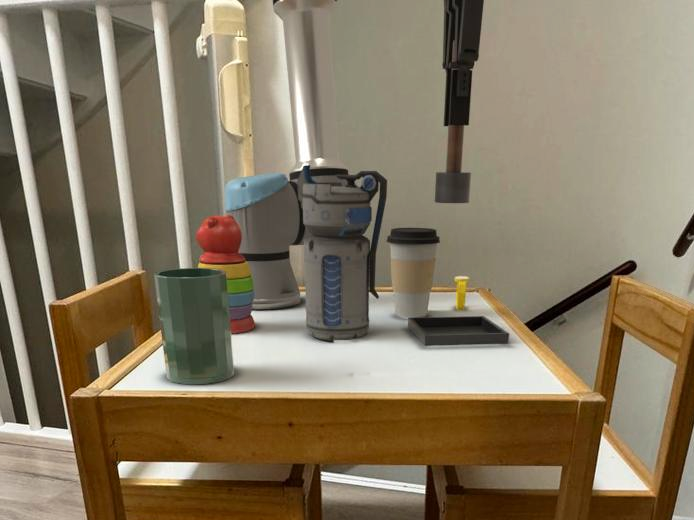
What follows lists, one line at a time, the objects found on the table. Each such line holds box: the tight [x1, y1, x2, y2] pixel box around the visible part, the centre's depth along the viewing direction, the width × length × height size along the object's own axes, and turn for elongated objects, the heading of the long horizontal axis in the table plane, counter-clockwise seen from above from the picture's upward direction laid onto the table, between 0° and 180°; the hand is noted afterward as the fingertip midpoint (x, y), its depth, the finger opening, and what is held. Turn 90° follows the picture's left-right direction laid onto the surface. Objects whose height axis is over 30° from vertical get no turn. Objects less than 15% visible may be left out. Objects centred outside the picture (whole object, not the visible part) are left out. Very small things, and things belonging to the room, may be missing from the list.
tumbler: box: [153, 267, 235, 385], centre depth 85 cm, size 9×9×13 cm
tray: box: [407, 315, 510, 347], centre depth 107 cm, size 13×13×2 cm
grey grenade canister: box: [298, 165, 388, 342], centre depth 103 cm, size 10×13×25 cm
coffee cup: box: [386, 227, 441, 318], centre depth 119 cm, size 9×9×15 cm
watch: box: [454, 275, 470, 311], centre depth 128 cm, size 6×3×6 cm, turn 176°
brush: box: [434, 40, 472, 204], centre depth 94 cm, size 5×5×20 cm
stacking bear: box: [195, 215, 256, 334], centre depth 109 cm, size 11×10×18 cm
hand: (455, 125), depth 94 cm, fingers closed on brush, 2 cm apart
